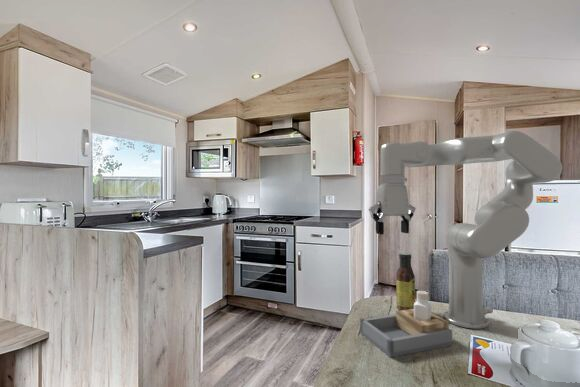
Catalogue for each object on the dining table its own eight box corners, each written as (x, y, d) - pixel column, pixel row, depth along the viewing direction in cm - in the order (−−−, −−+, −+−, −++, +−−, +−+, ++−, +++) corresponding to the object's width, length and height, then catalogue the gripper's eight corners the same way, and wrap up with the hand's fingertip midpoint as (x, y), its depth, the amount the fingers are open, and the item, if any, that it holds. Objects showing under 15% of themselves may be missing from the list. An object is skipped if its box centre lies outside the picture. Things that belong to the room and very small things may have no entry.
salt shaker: (417, 320, 90) (417, 289, 90) (431, 324, 88) (431, 291, 88) (413, 325, 87) (413, 292, 87) (427, 329, 85) (427, 295, 85)
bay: (415, 324, 96) (415, 311, 96) (452, 345, 82) (452, 330, 82) (360, 333, 89) (360, 319, 89) (389, 357, 76) (389, 341, 76)
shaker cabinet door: (420, 322, 94) (420, 307, 94) (448, 337, 84) (448, 321, 84) (396, 326, 91) (396, 311, 91) (422, 342, 81) (422, 326, 81)
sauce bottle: (416, 313, 104) (416, 256, 104) (397, 312, 105) (397, 255, 105) (413, 306, 110) (413, 252, 110) (395, 305, 111) (395, 251, 111)
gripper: (406, 182, 105) (406, 231, 105) (363, 181, 100) (363, 233, 100) (422, 181, 98) (422, 233, 98) (376, 180, 93) (376, 236, 93)
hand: (392, 233), depth 99 cm, fingers open, 9 cm apart
